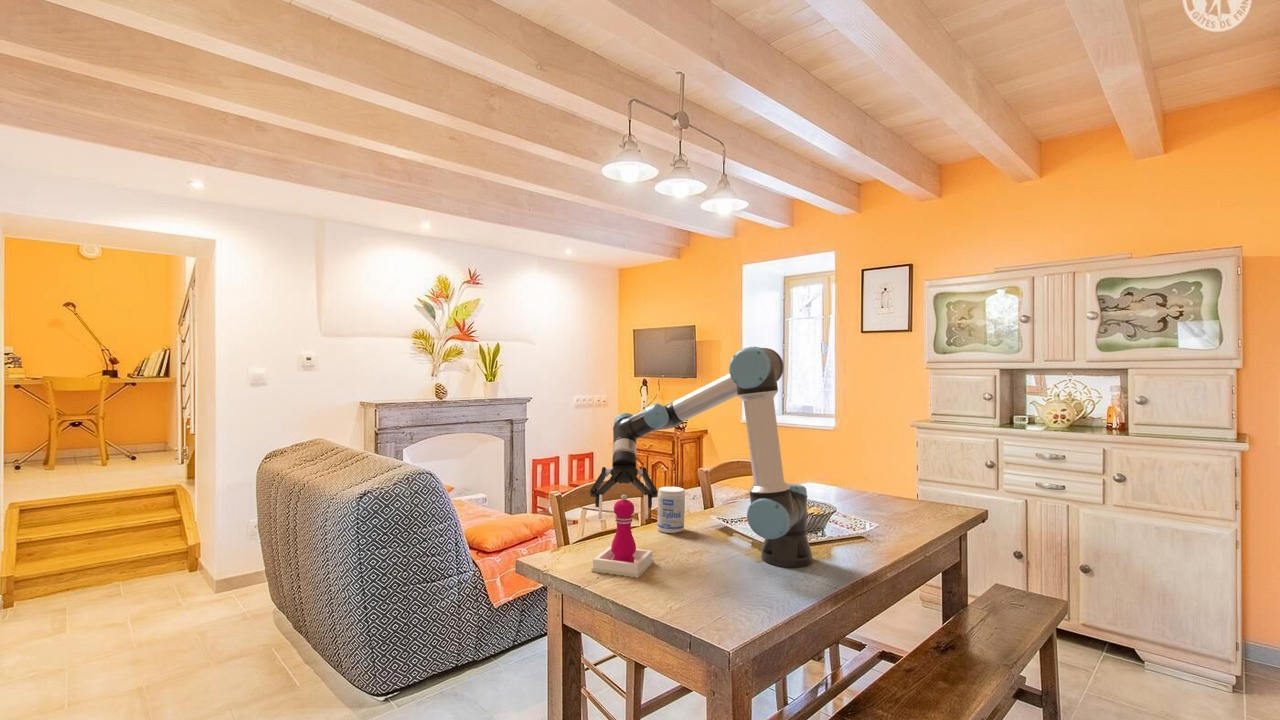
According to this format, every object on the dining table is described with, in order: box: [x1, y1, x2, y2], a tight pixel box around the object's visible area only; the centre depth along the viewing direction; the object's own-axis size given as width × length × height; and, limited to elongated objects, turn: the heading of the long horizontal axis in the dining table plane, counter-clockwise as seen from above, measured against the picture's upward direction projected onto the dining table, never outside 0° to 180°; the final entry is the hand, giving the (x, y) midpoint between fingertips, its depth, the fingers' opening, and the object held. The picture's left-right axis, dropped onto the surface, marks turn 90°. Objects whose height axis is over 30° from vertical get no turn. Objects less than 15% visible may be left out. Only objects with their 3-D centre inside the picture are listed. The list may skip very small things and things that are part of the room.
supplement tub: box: [656, 486, 686, 534], centre depth 215 cm, size 10×10×15 cm
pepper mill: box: [610, 494, 637, 563], centre depth 176 cm, size 7×7×20 cm
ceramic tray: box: [591, 545, 655, 579], centre depth 176 cm, size 14×14×4 cm
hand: (623, 516), depth 175 cm, fingers open, 13 cm apart
